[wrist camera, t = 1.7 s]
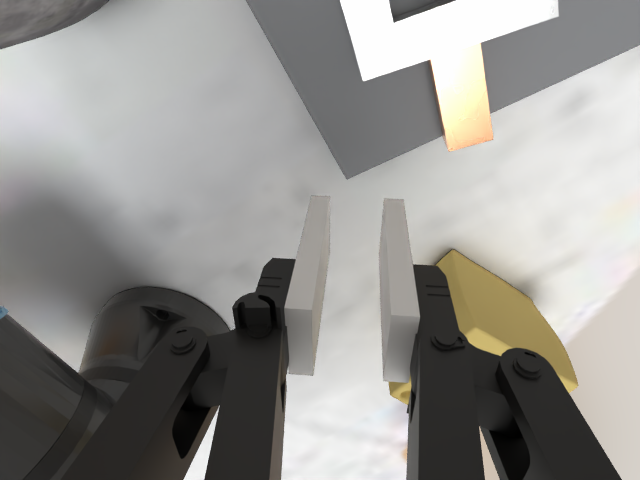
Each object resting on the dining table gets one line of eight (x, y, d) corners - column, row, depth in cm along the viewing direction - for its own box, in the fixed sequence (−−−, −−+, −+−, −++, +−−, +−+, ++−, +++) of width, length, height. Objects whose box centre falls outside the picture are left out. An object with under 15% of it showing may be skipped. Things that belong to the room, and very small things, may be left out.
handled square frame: (306, -136, 22) (299, -145, 20) (527, -244, 20) (546, -268, 17) (386, 154, 31) (387, 168, 29) (548, 108, 28) (563, 120, 26)
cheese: (460, 356, 44) (482, 448, 36) (378, 310, 42) (380, 397, 34) (540, 296, 39) (586, 388, 31) (450, 239, 37) (475, 322, 28)
